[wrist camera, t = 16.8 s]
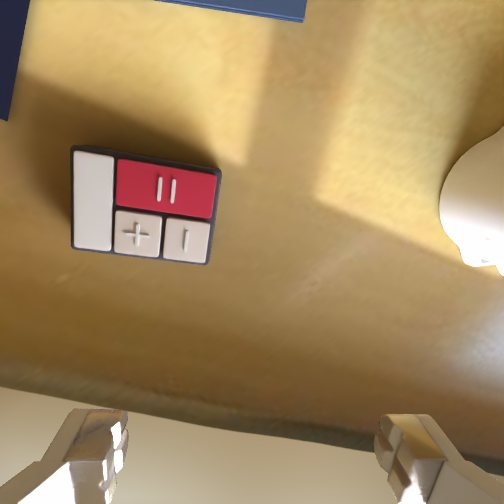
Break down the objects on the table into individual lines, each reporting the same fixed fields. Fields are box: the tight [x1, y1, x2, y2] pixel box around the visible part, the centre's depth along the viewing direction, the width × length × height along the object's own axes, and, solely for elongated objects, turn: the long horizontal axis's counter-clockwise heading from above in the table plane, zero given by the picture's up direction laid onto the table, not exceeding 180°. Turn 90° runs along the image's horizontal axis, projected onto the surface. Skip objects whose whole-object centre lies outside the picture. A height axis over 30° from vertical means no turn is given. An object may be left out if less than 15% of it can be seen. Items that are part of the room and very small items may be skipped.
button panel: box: [70, 145, 222, 265], centre depth 34 cm, size 11×4×15 cm
